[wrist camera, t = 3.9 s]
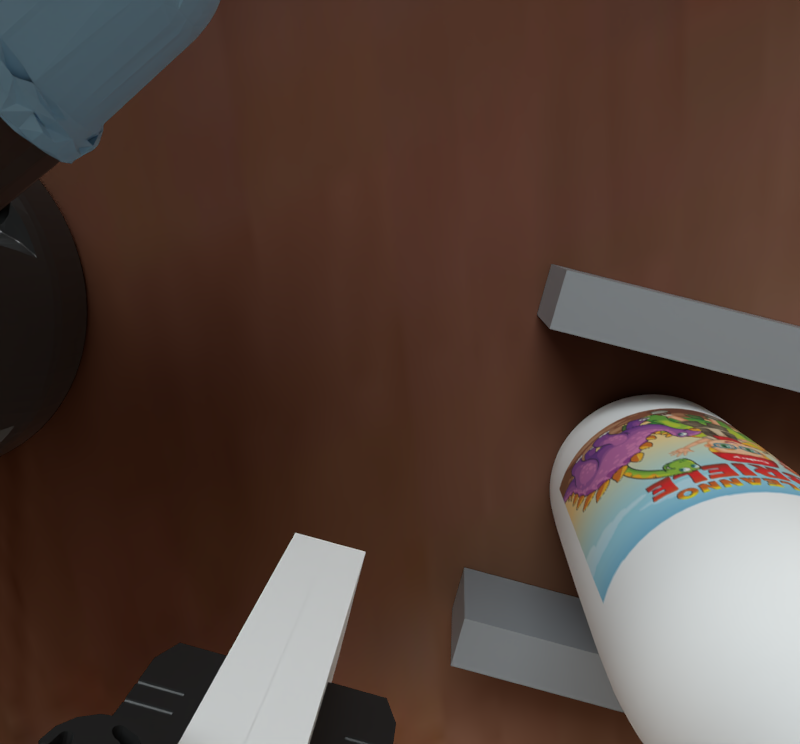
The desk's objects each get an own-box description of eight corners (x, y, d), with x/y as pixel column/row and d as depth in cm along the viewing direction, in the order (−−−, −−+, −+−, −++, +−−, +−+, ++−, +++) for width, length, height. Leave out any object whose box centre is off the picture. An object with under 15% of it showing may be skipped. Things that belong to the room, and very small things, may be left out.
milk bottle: (746, 566, 29) (1354, 1282, 9) (554, 578, 30) (735, 1260, 10) (742, 381, 27) (1454, 763, 8) (540, 399, 28) (721, 786, 9)
